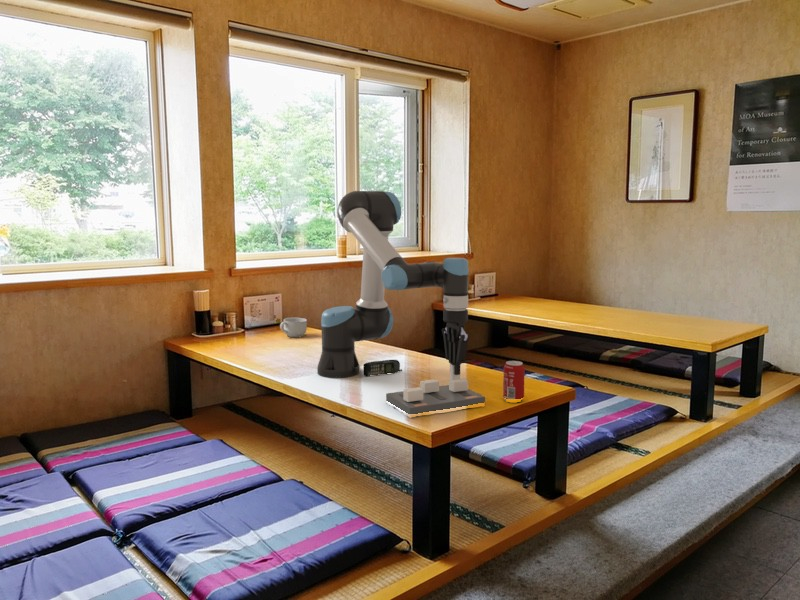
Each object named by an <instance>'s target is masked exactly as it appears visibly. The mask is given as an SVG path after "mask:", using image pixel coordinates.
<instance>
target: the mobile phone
mask: <svg viewBox="0 0 800 600" xmlns="http://www.w3.org/2000/svg"><path fill="white" fill-rule="evenodd" d="M362 367H363V370H362V371H363V376H364V377H371V376H370V375H376V376H379V375H378V374H386V375H388V374H387V373H393V374H395V372H396V373H398V371H399V372H402V371H403V368H402V369H401V368H400V367H401V363H400V360H398V359H383V360H376V361H371V362H370V361H369V362H365V363H363V366H362Z"/></svg>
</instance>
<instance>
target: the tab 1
mask: <svg viewBox="0 0 800 600" xmlns="http://www.w3.org/2000/svg"><path fill="white" fill-rule="evenodd" d="M402 391H403V399H404V400H405V401H407V402H411V401H418V400H423V389H421V388H420V386H417V387H410V388H409V387H408V388H403V389H402Z"/></svg>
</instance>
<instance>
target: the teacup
mask: <svg viewBox="0 0 800 600" xmlns="http://www.w3.org/2000/svg"><path fill="white" fill-rule="evenodd" d="M307 322H308V319H306V318H304V317H303V318H302V317H285V318H284V319H283V321H282V322H281V323H279V328H280V331H282V332H284V334H285V335H286V336H287V337H290V338H300V337H299V336H301V337H303V336H304V335H305V334H306V332H307V329H308V328H307V325H308V323H307ZM302 335H303V336H302Z"/></svg>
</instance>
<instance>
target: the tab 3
mask: <svg viewBox="0 0 800 600" xmlns="http://www.w3.org/2000/svg"><path fill="white" fill-rule="evenodd" d="M448 385H449V390H451V391H453V392H458V391H465V390H468V389H469V380H468V379H466V378H463V377H460V379H454V380H450V379H449V380H448Z"/></svg>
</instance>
